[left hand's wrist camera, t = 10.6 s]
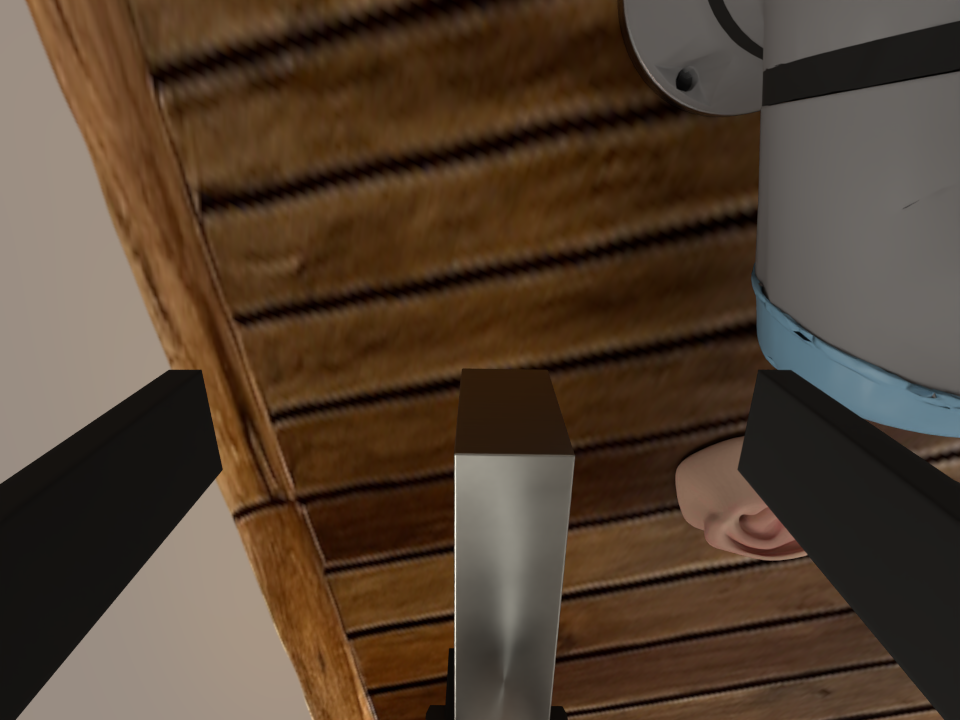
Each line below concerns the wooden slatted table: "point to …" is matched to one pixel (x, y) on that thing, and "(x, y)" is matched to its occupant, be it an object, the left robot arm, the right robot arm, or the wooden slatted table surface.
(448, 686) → the right robot arm
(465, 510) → the bar
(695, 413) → the wooden slatted table surface
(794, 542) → the anatomical model
